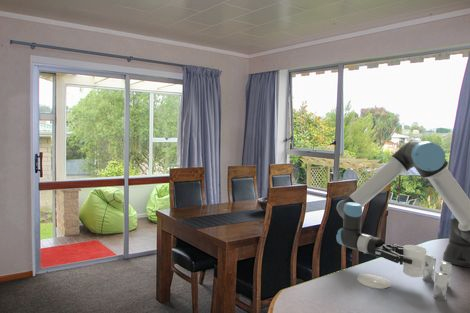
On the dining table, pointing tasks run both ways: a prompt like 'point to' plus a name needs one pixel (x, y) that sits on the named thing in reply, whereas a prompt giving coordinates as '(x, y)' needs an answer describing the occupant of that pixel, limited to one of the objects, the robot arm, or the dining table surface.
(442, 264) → the cylinder
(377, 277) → the coaster
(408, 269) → the white cup
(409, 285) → the dining table surface
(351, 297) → the dining table surface
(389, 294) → the dining table surface
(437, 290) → the cylinder
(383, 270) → the dining table surface
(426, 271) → the cylinder
